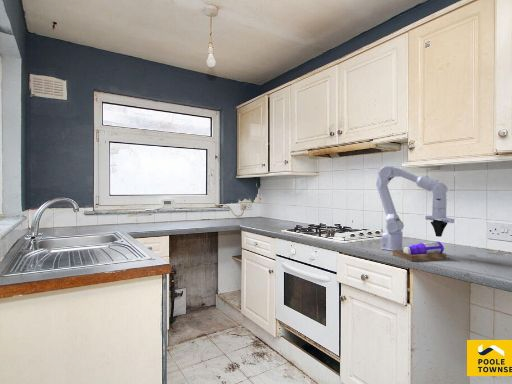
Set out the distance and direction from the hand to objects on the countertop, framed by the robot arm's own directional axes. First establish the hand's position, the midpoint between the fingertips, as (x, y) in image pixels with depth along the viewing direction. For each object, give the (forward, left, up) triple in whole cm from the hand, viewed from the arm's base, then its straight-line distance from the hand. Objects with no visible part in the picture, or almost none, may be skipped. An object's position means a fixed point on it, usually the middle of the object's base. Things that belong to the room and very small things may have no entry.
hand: (438, 236), depth 144 cm
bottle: (+1, -2, -5) cm, 6 cm away
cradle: (-6, -10, -9) cm, 15 cm away
